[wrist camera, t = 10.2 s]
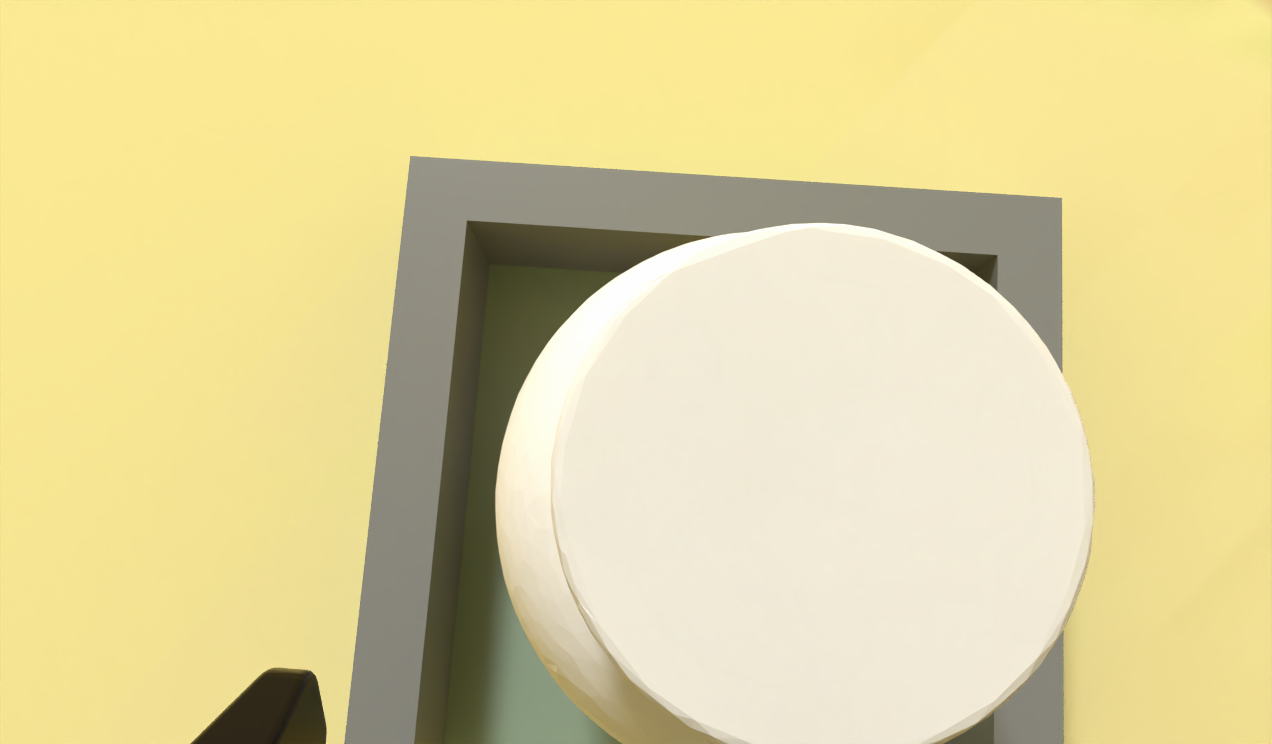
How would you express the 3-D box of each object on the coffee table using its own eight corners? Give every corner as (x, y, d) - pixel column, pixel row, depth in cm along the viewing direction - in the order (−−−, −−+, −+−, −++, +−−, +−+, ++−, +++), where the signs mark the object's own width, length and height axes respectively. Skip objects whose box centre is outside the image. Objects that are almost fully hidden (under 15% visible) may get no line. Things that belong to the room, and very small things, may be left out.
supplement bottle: (563, 354, 22) (459, 89, 9) (872, 365, 22) (1196, 114, 9) (547, 678, 21) (404, 884, 8) (873, 690, 21) (1245, 917, 8)
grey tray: (992, 777, 21) (1063, 823, 17) (391, 734, 21) (341, 772, 18) (996, 252, 23) (1061, 198, 19) (445, 216, 23) (409, 156, 20)
